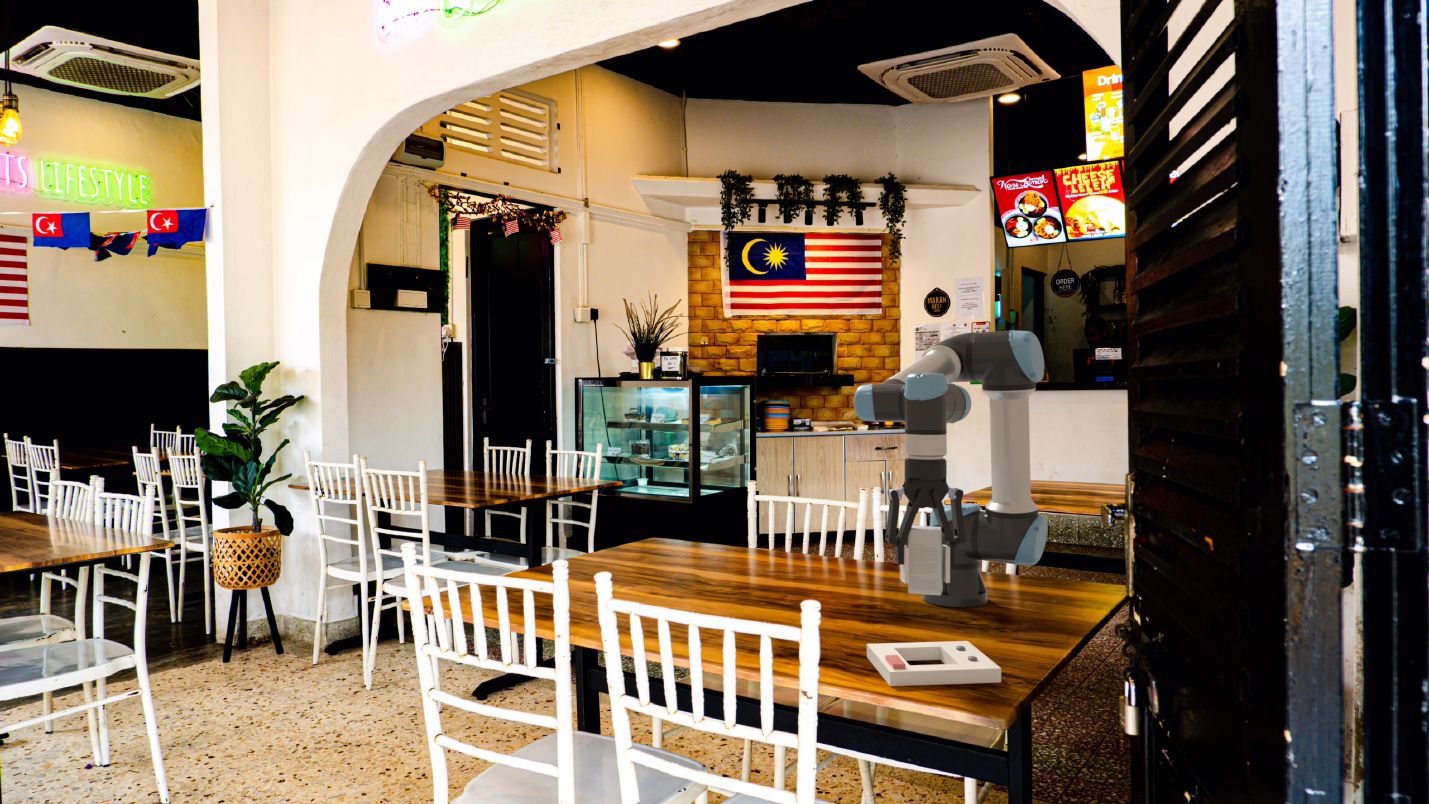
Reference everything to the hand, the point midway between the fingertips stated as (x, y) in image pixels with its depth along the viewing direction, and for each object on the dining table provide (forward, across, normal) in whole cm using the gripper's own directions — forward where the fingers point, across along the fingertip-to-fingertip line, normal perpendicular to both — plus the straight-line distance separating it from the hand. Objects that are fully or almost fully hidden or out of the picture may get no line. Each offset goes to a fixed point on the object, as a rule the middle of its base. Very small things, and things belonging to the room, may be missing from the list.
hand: (925, 581), depth 157 cm
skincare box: (+2, 0, 0) cm, 2 cm away
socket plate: (+16, -1, 0) cm, 16 cm away
